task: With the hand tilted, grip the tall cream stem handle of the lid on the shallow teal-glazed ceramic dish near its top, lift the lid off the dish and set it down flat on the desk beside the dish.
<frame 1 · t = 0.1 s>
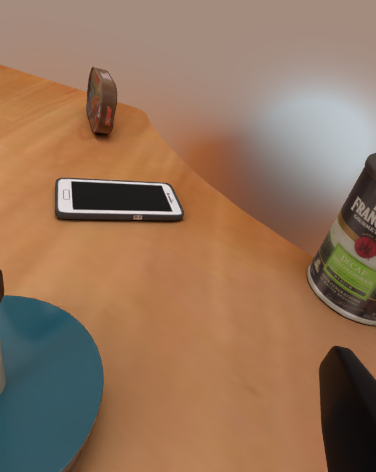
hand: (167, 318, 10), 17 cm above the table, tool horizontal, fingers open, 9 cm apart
tin: (99, 125, 63), on the table
coffee can: (350, 291, 40), on the table
cell phone: (119, 204, 44), on the table
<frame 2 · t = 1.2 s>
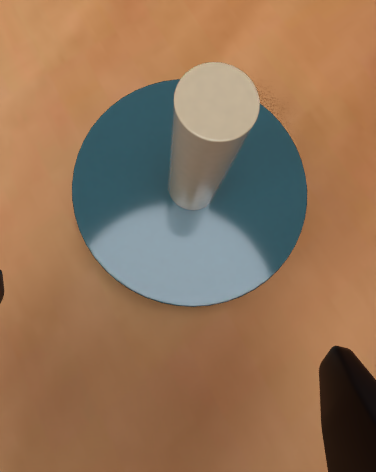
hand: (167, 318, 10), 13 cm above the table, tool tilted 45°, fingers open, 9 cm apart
lid: (191, 189, 21), point 3 cm above the table, touching dish
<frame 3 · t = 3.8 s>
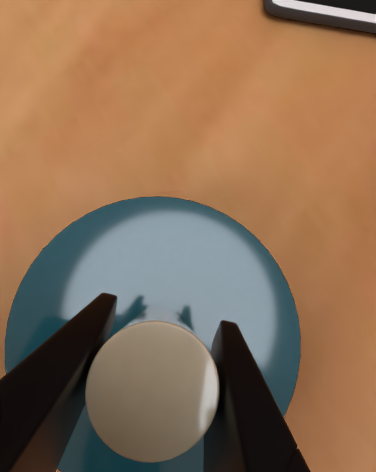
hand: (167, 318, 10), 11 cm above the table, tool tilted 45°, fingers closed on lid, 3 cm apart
lid: (157, 337, 17), point 3 cm above the table, touching dish, gripper
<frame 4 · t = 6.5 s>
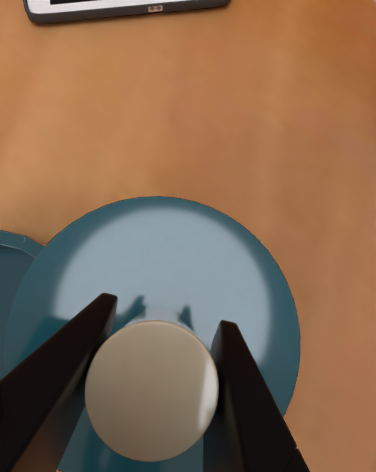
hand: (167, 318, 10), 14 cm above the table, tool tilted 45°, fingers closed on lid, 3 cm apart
lid: (157, 337, 17), point 6 cm above the table, touching gripper
dish: (0, 339, 22), on the table
when the fingers open (8 cm above the table, at t = 9.4 s): lid stays where it is, point 1 cm above the table.
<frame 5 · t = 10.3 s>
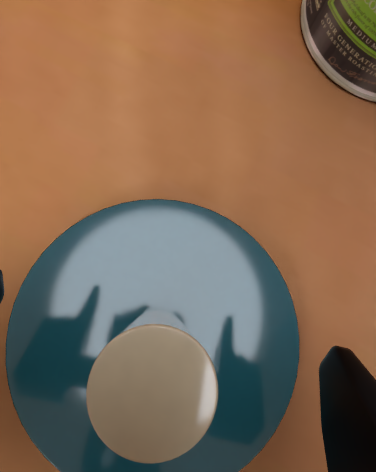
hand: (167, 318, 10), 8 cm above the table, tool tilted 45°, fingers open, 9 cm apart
lid: (157, 339, 17), point 1 cm above the table
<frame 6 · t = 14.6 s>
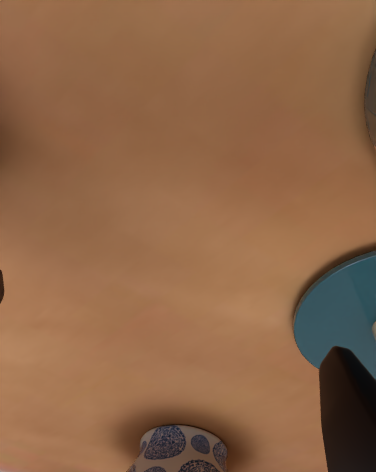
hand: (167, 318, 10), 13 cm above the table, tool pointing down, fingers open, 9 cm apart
lamp: (183, 445, 40), on the table
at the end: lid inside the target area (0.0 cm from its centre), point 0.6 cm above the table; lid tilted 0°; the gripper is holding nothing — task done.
